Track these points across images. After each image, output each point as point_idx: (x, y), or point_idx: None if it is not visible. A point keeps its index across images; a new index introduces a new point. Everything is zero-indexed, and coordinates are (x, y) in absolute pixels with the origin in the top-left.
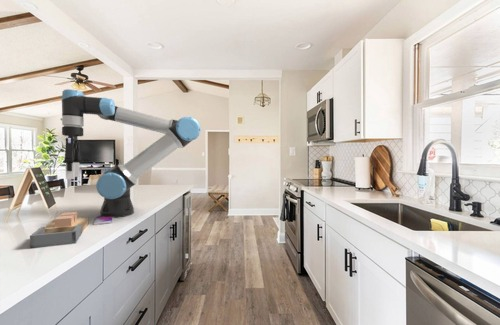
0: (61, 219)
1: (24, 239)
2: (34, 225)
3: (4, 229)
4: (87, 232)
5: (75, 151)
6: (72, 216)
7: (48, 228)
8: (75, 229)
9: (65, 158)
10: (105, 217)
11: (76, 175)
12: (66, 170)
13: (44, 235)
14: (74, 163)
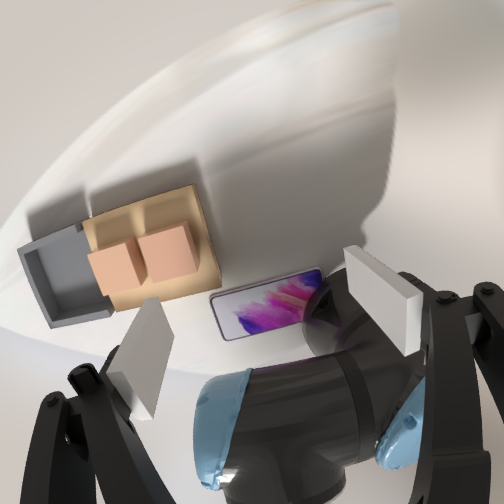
0: (93, 271)
1: (81, 181)
2: (230, 106)
3: (193, 50)
4: (133, 311)
5: (422, 459)
6: (122, 290)
7: (87, 235)
8: (61, 323)
9: (42, 416)
10: (296, 303)
11: (352, 280)
12: (128, 336)
13: (27, 274)
14: (400, 317)
